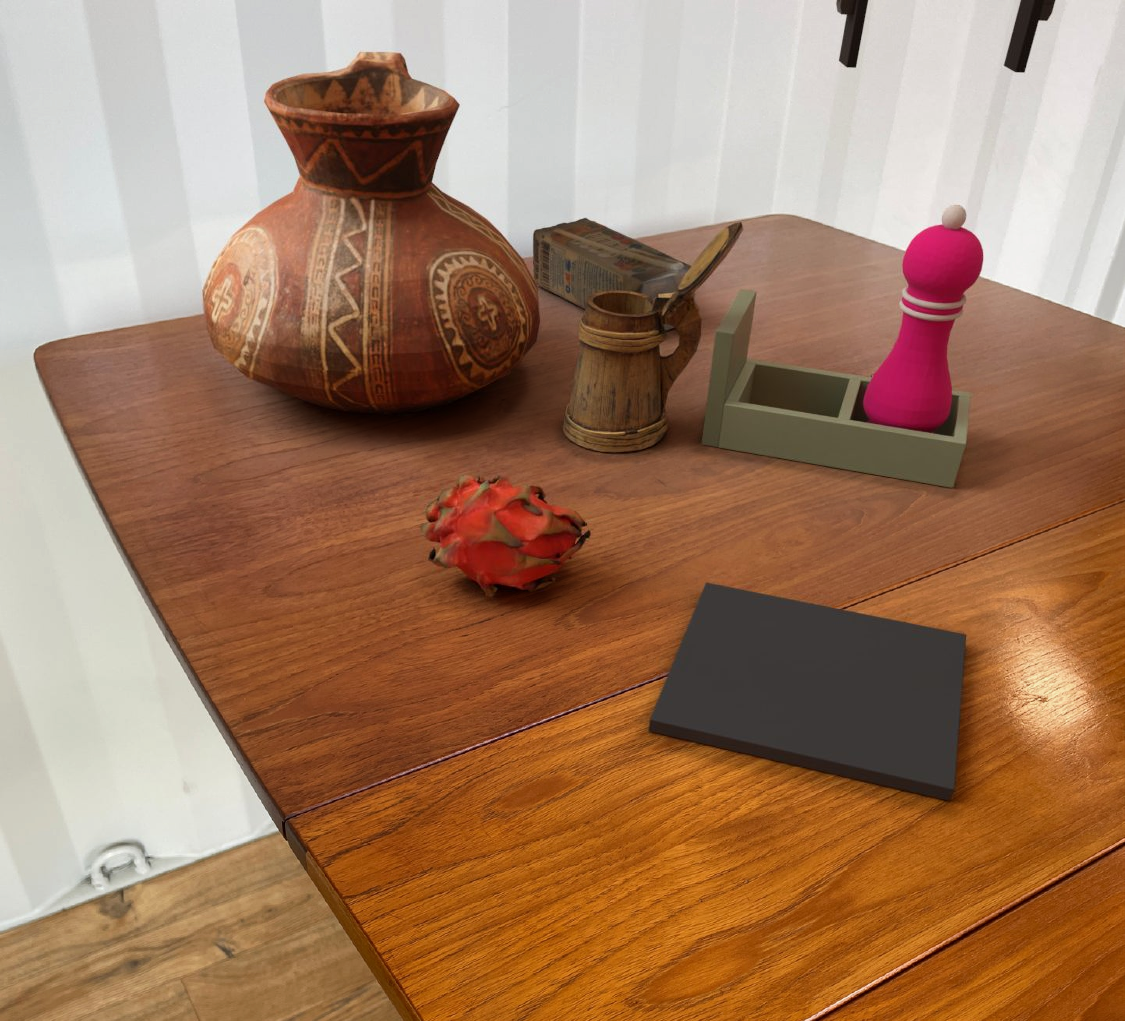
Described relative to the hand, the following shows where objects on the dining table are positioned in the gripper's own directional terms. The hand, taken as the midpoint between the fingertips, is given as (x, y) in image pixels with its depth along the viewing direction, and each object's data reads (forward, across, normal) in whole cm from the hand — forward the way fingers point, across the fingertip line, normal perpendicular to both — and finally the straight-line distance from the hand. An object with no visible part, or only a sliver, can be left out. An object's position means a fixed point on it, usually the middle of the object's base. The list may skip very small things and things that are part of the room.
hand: (930, 67), depth 87 cm
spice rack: (+27, +5, +11) cm, 29 cm away
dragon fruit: (+27, +34, +33) cm, 55 cm away
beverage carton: (+27, +23, -21) cm, 41 cm away
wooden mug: (+27, +22, +10) cm, 36 cm away
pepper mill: (+27, 0, +13) cm, 30 cm away
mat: (+27, +14, +46) cm, 55 cm away
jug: (+27, +46, -1) cm, 53 cm away
